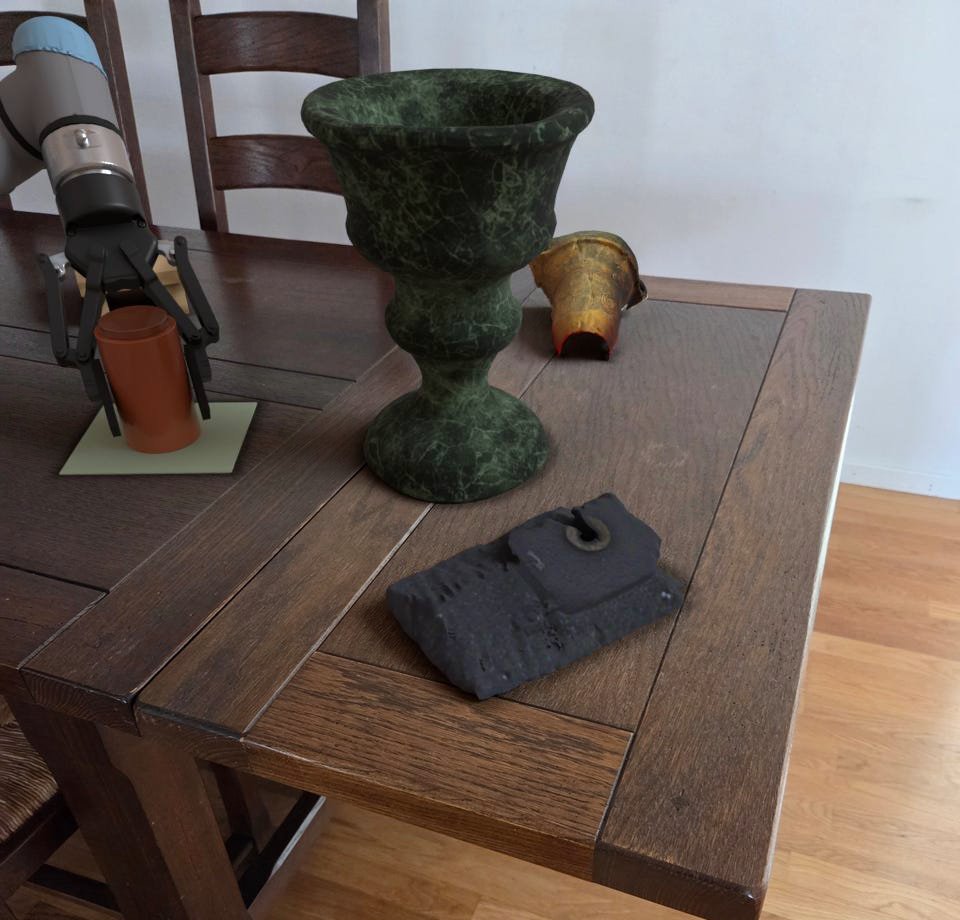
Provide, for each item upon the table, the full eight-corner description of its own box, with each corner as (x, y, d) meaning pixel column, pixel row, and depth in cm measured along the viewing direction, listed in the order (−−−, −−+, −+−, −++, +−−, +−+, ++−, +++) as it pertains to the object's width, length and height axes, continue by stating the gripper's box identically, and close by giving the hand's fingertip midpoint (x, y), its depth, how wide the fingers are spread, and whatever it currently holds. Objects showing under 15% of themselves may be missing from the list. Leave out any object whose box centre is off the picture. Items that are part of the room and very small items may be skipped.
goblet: (301, 492, 81) (241, 116, 61) (395, 385, 97) (373, 60, 77) (534, 535, 75) (553, 140, 55) (593, 415, 91) (624, 74, 71)
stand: (92, 333, 107) (77, 283, 103) (84, 299, 116) (70, 251, 112) (192, 318, 111) (181, 268, 107) (178, 285, 119) (167, 239, 115)
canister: (117, 454, 85) (79, 334, 77) (137, 418, 90) (104, 302, 83) (192, 453, 85) (162, 333, 77) (208, 417, 91) (182, 302, 83)
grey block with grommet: (359, 601, 69) (354, 551, 66) (577, 510, 78) (581, 462, 75) (472, 718, 60) (472, 667, 56) (704, 599, 69) (715, 549, 66)
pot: (521, 288, 94) (537, 184, 103) (489, 364, 103) (506, 263, 112) (669, 339, 97) (672, 234, 106) (625, 408, 107) (631, 307, 115)
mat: (60, 477, 83) (58, 473, 82) (105, 407, 93) (104, 403, 93) (231, 475, 83) (231, 471, 83) (257, 405, 93) (257, 402, 93)
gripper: (-33, 181, 77) (37, 431, 77) (204, 156, 83) (271, 389, 83) (-11, 227, 85) (53, 457, 84) (206, 202, 90) (267, 416, 90)
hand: (161, 423), depth 83 cm, fingers open, 8 cm apart
